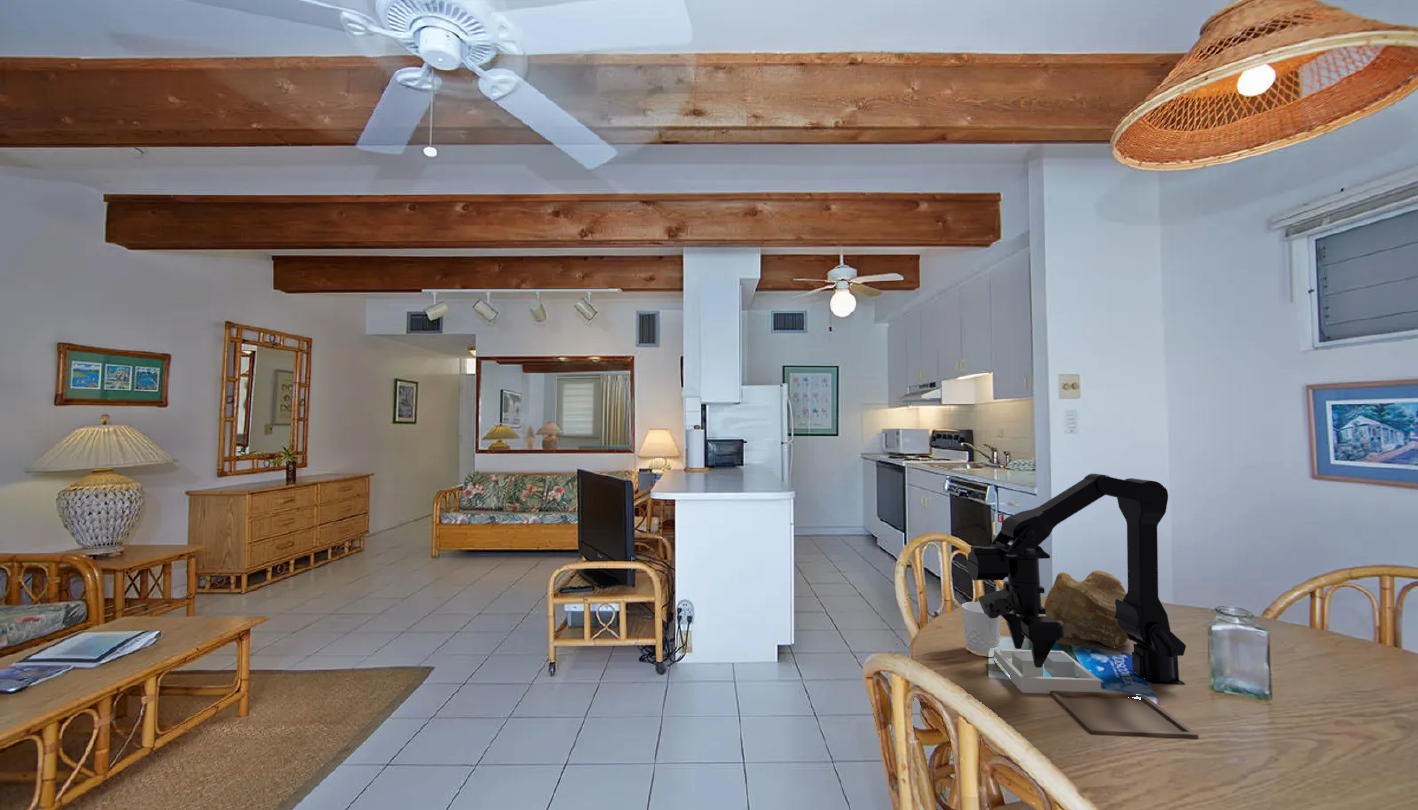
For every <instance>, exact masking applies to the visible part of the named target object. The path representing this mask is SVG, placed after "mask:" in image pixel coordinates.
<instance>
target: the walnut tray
mask: <svg viewBox="0 0 1418 810" xmlns="http://www.w3.org/2000/svg"><path fill="white" fill-rule="evenodd" d="M1136 694H1137V693H1131V692H1130V693H1128V692H1127V693H1126V692H1102V691H1101V692H1074V691H1050V694H1049V695H1051V696H1052V697H1053V698H1054V699H1055V700H1056V701H1057V702H1058V703H1059V704H1060V705H1061V706H1062V707H1063V708H1064V709H1065V710H1066V711H1067V712H1068V713H1069V714H1070V715H1071V716H1072V717H1073V718H1074V719H1075V720H1076V721H1077V722H1078V723H1079V724H1080V725H1082V727H1084V729H1086V730H1087V731H1088V732H1089V734H1091V735H1109V736H1110V735H1111V736H1112V735H1114V736H1132V737H1133V736H1136V737H1154V738H1155V737H1156V738H1157V737H1160V738H1185V739H1199V734H1198V733H1196V732H1195V731H1194V730H1192V729H1191V728H1190V727H1188V726H1187V725H1185V724H1184V723H1182V722H1181V721H1180V720H1179V719H1177V718H1176V717H1175V716H1173V715H1171V714H1170V713H1169V712H1168V711H1167V710H1165V709H1163V707H1161V706H1159V705H1158V704H1157V703H1156V702H1154V701H1152V700H1151V698H1149V697H1148V696H1146V695H1145V694H1143V693H1141V694H1142V695H1136ZM1136 696H1138V697H1141V700H1139V699H1134V698H1132V697H1136ZM1128 697H1129V698H1128Z"/></svg>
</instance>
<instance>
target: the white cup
mask: <svg viewBox="0 0 1418 810" xmlns="http://www.w3.org/2000/svg"><path fill="white" fill-rule="evenodd" d="M961 612H962V623H963V624H962V625H963V631H964V632H963V633H964V638H965V647H966V646H967V647H968V648H969V649H971V650H973V651H976V652H979V653H984V654H987V653H988V652H989V650H990V648H995V647H998V646H999V647H1000V640H1001V639H1000V638H1001V637H1000V634H1001V615H1000V616H998V617H997V618H989V617H988V615H986V614H985V613H984V611H983V609H982V607H981V604H980V602H979V601H968V602H964V603H962V604H961Z"/></svg>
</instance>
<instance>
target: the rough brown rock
mask: <svg viewBox="0 0 1418 810" xmlns="http://www.w3.org/2000/svg"><path fill="white" fill-rule="evenodd" d="M1126 594H1127V592H1126V591H1125V588H1124V586H1123V585H1122V582H1121V581H1120V580H1119V579H1118V578H1117V577H1115V576H1114V575H1113V574H1111V573H1108V572H1106V571H1103V570H1093V571H1091V572H1090V573H1088V575H1087V577H1086V578H1085V579H1084V580H1076V579H1074V578H1072V576H1071V575H1070V574H1069V573H1067V572H1063V571H1062V572H1059V573H1058V574H1057V575H1056V577H1055V580H1054V582H1053V585H1052V586H1051V588H1050V590H1049V591H1048V594H1047V597H1046V599H1045V602H1044V606H1043V608H1045V609H1046V614H1045V616H1050V617H1051V618H1053V619H1054V620H1055V621H1057V622H1058V623H1059V624H1060V625H1061V626H1063V630H1064V636H1065V637H1064V638H1066V637H1069V638H1068V639H1072V638H1080V639H1081V640H1084V641H1086V640H1087V641H1097V642H1099V643H1101V644H1102V645H1104V646H1107V647H1110V648H1111V647H1115V648H1114V649H1116V648H1119V647H1122V646H1124V645H1125V643H1126V641H1127V640H1129V639H1128V637H1127V634H1126V632H1125V631H1124V630H1123V629H1122V628H1121V627H1120V626H1119V624H1118V619H1116V618H1114V617H1115V614H1116V605H1115V600H1116V599H1120V600H1123V599H1124V597H1125V596H1126Z"/></svg>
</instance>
